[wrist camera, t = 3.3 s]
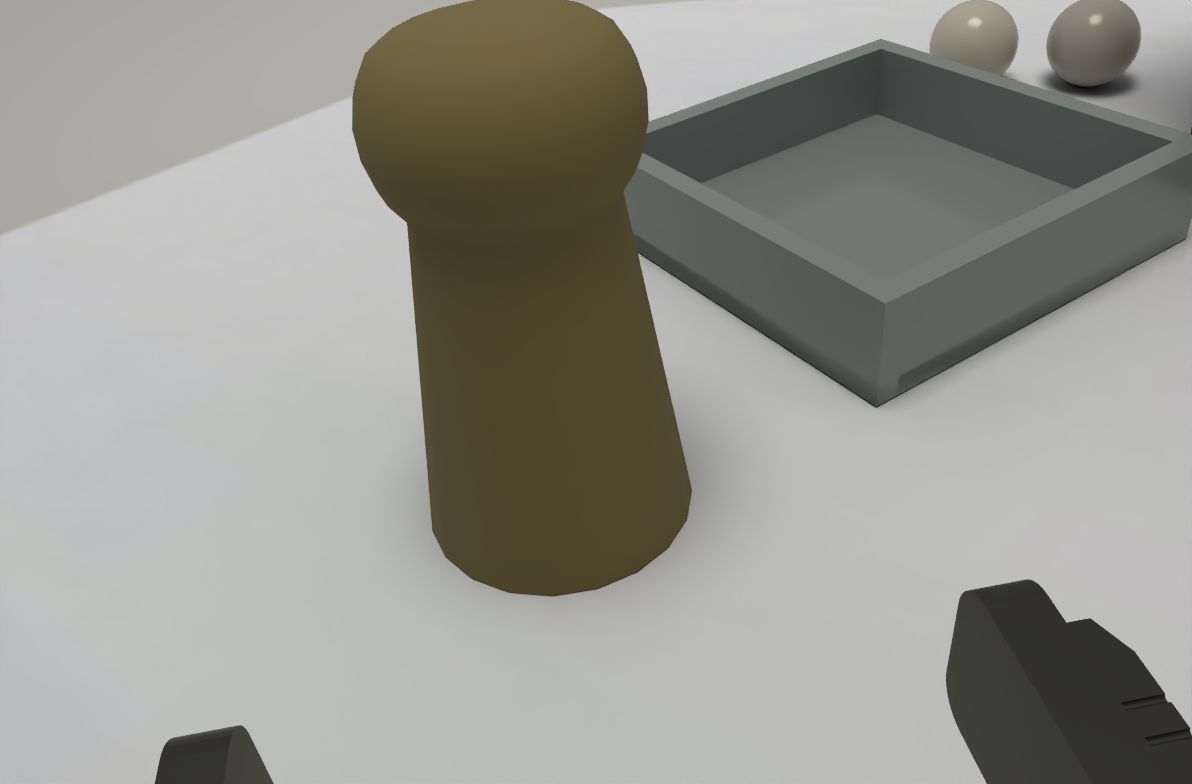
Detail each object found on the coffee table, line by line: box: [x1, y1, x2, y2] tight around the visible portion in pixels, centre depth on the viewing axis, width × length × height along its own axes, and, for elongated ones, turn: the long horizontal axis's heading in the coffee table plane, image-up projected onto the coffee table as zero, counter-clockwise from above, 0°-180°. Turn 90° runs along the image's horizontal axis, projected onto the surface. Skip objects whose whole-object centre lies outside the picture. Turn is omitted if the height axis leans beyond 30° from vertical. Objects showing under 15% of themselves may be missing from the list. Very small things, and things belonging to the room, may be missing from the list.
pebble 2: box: [1046, 0, 1141, 86], centre depth 39 cm, size 3×3×3 cm
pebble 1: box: [930, 0, 1018, 76], centre depth 40 cm, size 3×3×3 cm
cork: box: [352, 0, 692, 596], centre depth 21 cm, size 6×6×11 cm
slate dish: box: [623, 39, 1192, 407], centre depth 31 cm, size 12×12×3 cm
